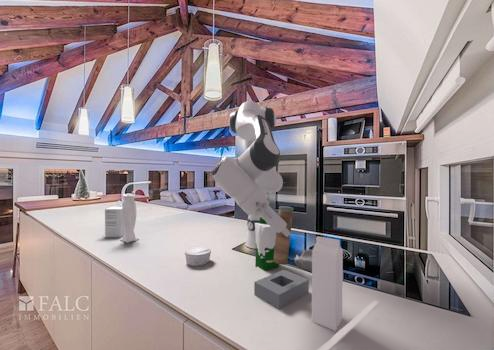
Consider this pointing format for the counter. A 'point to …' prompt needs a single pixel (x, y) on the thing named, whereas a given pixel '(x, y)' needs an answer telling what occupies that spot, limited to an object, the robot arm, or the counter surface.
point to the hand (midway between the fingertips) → (285, 232)
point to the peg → (283, 237)
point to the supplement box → (113, 222)
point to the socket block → (281, 288)
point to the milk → (327, 282)
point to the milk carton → (265, 245)
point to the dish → (305, 260)
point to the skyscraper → (129, 217)
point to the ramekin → (197, 255)
